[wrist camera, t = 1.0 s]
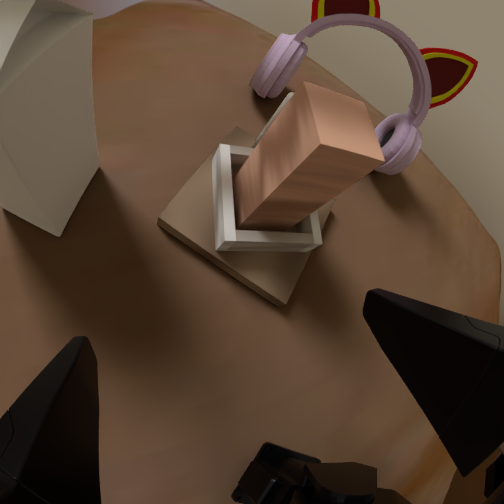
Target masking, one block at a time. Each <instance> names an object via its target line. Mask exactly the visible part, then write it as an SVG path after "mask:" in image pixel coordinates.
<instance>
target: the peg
mask: <svg viewBox="0 0 504 504" xmlns="http://www.w3.org/2000/svg"><path fill="white" fill-rule="evenodd" d="M384 162H385V160H384V156H383V153H382V150H381V147H380V144H379V142H378V139H377V136H376V133H375V130H374V128H373V125H372V122H371V119H370V117H369V114H368V112H367V109H366V107H365V104H364V103H363V102H361V101H358V100H356V99H353V98H351V97H348V96H346V95H343V94H340V93H338V92H335V91H332V90H329V89H326V88H324V87H321V86H318V85H315V84H312V83H308V82H305V81H303V82H302V84H301V85H300V86H299V88H298V89H297V90H296V92H295V93H294V94H293V96H292V97H291V98H290V100H289V101H288V102H287V104H286V105H285V107H284V108H283V109H282V111H281V112H280V113H279V115H278V116H277V118H276V119H275V120H274V122H273V123H272V124H271V126H270V127H269V129H268V130H267V132H266V133H265V134H264V136H263V137H262V139H261V140H260V141H259V143H258V144H257V146H256V147H255V149H254V150H253V152H252V153H251V154H250V156H249V157H248V159H247V160H246V162H245V163H244V165H243V166H242V168H241V169H240V171H239V172H238V174H237V175H236V177H235V178H234V180H233V186H234V201H235V215H236V229H249V230H270V231H287V230H288V229H290V228H291V227H293V226H294V225H295V224H297V223H298V222H300V221H301V220H303V219H304V218H306V217H307V216H308V215H310V214H311V213H313V212H314V211H316V210H317V209H318V208H320V207H321V206H323V205H324V204H326V203H327V202H328V201H330V200H331V199H333V198H334V197H336V196H337V195H338V194H340V193H341V192H343V191H344V190H346V189H347V188H348V187H350V186H351V185H353V184H354V183H356V182H357V181H358V180H360V179H361V178H363V177H364V176H366V175H367V174H368V173H370V172H371V171H373V170H374V169H375V168H377V167H378V166H380V165H381V164H383V163H384Z"/></svg>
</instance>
